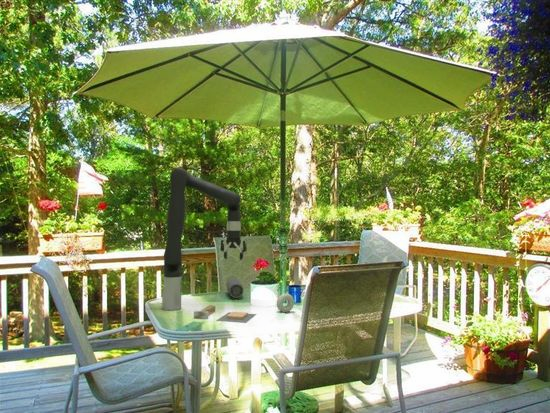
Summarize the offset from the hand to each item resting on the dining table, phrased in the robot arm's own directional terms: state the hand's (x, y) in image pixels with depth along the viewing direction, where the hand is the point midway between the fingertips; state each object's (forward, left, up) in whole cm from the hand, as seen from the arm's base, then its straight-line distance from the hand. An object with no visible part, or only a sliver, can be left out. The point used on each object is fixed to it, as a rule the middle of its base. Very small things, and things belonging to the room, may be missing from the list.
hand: (233, 259), depth 254 cm
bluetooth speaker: (-9, +29, -26) cm, 41 cm away
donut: (+30, -4, -26) cm, 40 cm away
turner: (-6, -22, -26) cm, 35 cm away
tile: (+10, -18, -25) cm, 32 cm away
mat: (+10, -23, -26) cm, 36 cm away
